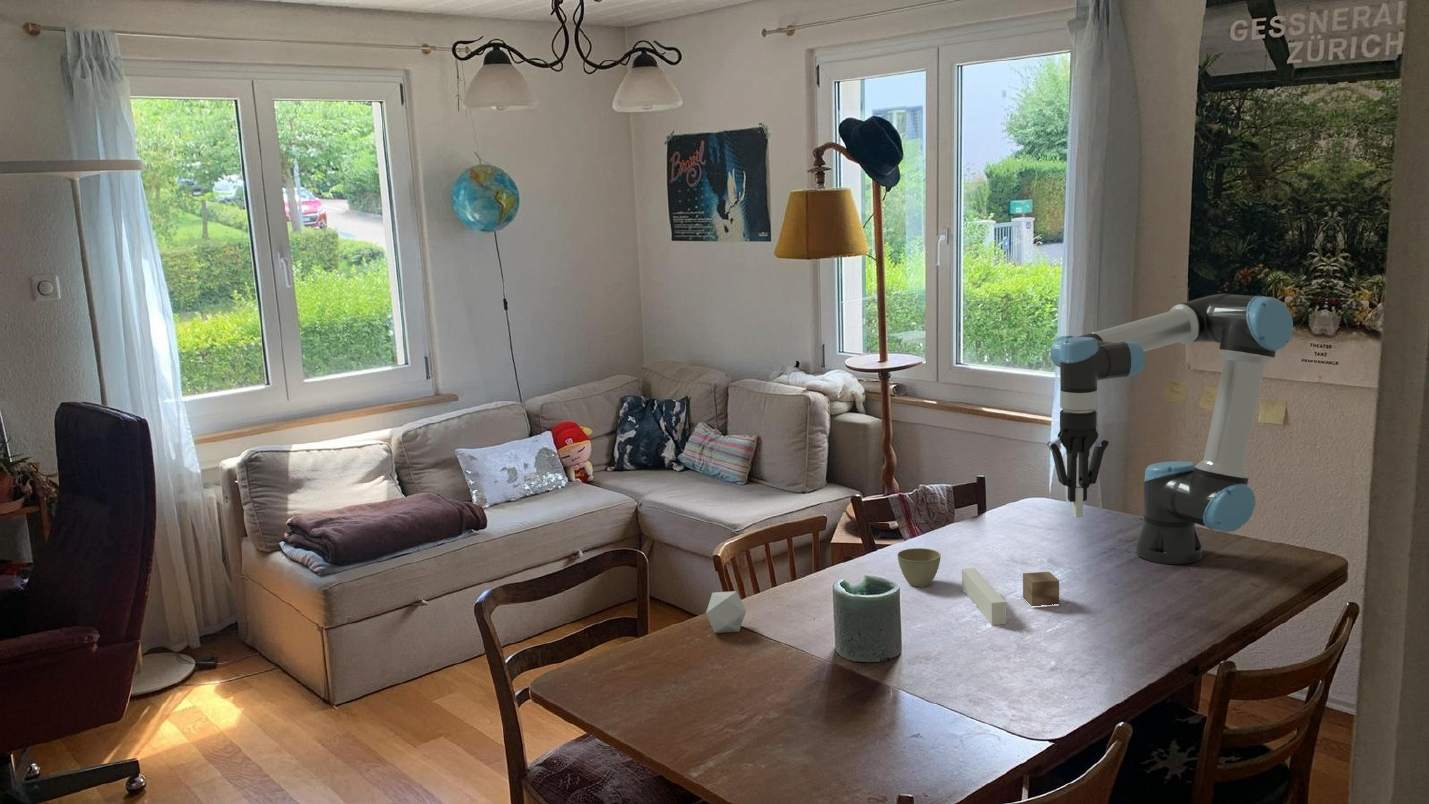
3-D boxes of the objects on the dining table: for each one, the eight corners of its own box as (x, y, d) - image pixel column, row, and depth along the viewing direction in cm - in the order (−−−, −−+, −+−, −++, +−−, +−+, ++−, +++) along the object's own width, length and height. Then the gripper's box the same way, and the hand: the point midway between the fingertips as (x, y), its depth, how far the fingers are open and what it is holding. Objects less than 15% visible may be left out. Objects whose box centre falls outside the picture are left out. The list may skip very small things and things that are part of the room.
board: (975, 588, 254) (975, 567, 253) (1006, 624, 232) (1006, 601, 232) (962, 589, 254) (961, 568, 253) (991, 625, 232) (991, 602, 231)
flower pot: (938, 576, 264) (938, 547, 262) (943, 590, 254) (942, 560, 253) (896, 576, 265) (896, 547, 263) (899, 591, 255) (898, 561, 254)
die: (733, 643, 231) (755, 601, 233) (695, 622, 232) (718, 580, 233) (732, 642, 239) (754, 601, 241) (696, 622, 240) (718, 581, 242)
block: (1049, 597, 247) (1049, 571, 246) (1059, 606, 241) (1059, 580, 240) (1022, 598, 247) (1022, 573, 246) (1032, 608, 241) (1032, 582, 240)
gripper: (1100, 404, 241) (1099, 508, 245) (1042, 408, 240) (1041, 512, 244) (1115, 411, 233) (1113, 518, 237) (1054, 414, 233) (1054, 522, 237)
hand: (1077, 515), depth 241 cm, fingers closed
